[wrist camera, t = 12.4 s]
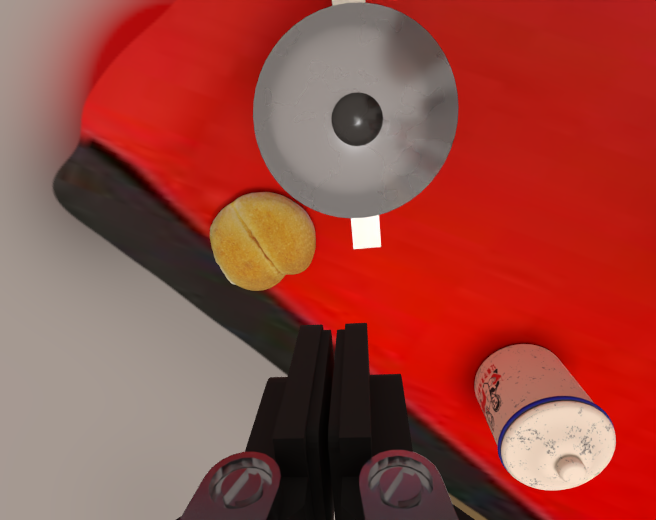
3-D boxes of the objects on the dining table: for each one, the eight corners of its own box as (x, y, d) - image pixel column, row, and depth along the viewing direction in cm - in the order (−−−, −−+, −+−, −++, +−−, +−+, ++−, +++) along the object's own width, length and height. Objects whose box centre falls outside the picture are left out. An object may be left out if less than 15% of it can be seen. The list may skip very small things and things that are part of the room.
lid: (454, -7, 26) (463, -14, 24) (454, 204, 30) (463, 211, 28) (239, 17, 26) (233, 12, 24) (270, 224, 30) (267, 231, 28)
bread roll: (332, 251, 40) (330, 268, 36) (247, 293, 42) (238, 313, 38) (285, 170, 38) (279, 179, 34) (198, 218, 39) (183, 231, 36)
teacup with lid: (466, 347, 43) (507, 435, 32) (564, 332, 42) (641, 417, 31) (477, 445, 47) (517, 552, 36) (566, 433, 46) (635, 539, 35)
